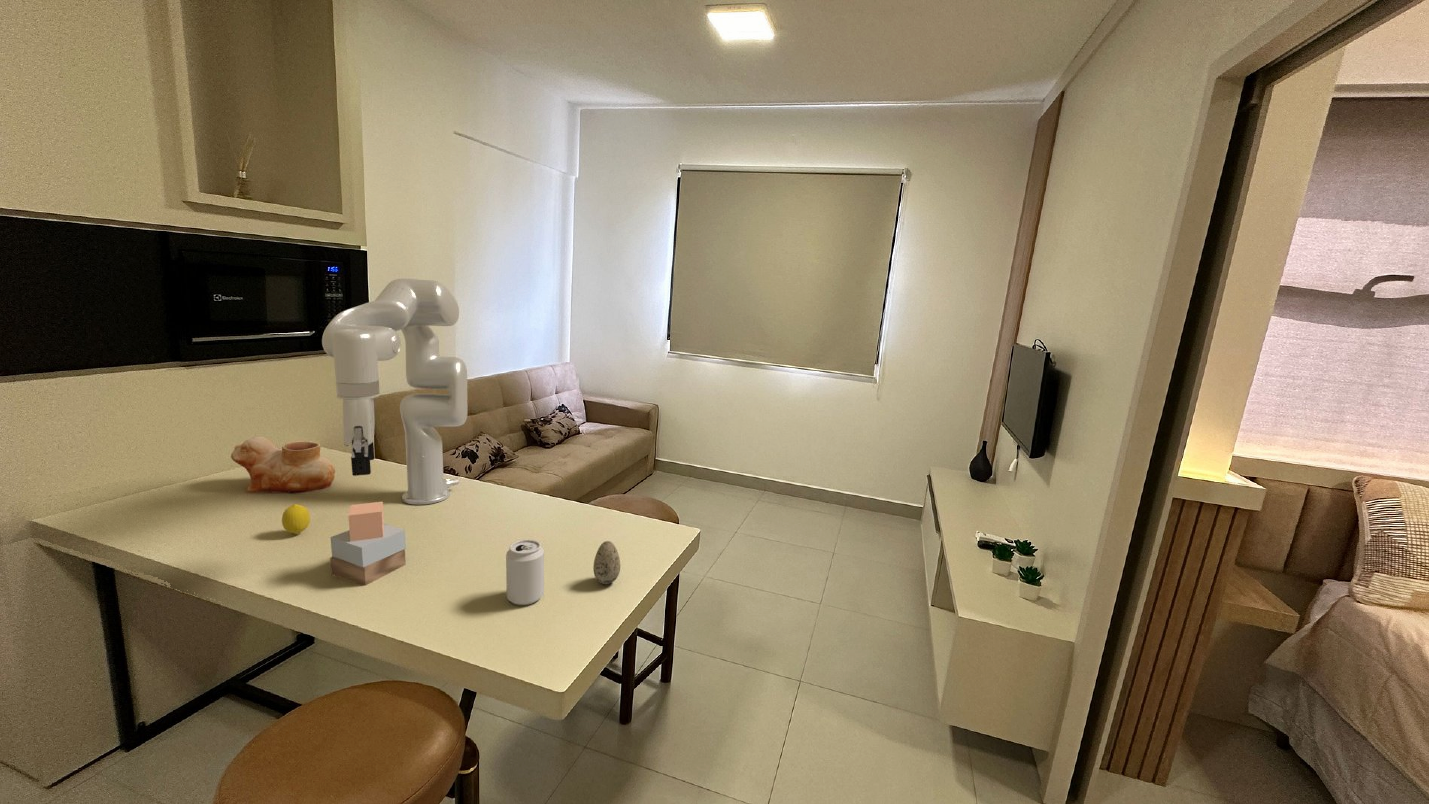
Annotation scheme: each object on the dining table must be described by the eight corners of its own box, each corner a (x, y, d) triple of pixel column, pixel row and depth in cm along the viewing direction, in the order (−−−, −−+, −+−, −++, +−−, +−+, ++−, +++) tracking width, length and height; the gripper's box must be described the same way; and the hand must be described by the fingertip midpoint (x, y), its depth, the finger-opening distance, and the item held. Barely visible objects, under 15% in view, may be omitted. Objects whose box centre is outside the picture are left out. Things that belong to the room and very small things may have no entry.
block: (352, 530, 122) (350, 505, 121) (384, 526, 125) (382, 501, 124) (350, 541, 117) (348, 515, 116) (383, 537, 120) (381, 511, 119)
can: (512, 587, 119) (511, 536, 117) (547, 588, 120) (547, 537, 117) (502, 607, 112) (501, 553, 109) (539, 607, 112) (539, 554, 110)
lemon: (296, 540, 133) (293, 509, 132) (277, 537, 134) (274, 506, 133) (316, 531, 138) (314, 501, 137) (298, 528, 139) (295, 498, 138)
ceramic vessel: (255, 477, 171) (250, 431, 168) (345, 478, 174) (342, 433, 171) (221, 493, 157) (215, 443, 154) (320, 495, 161) (316, 446, 158)
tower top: (375, 538, 128) (374, 520, 127) (405, 548, 125) (404, 530, 124) (332, 556, 119) (330, 537, 118) (363, 567, 115) (361, 547, 115)
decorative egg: (621, 588, 122) (622, 546, 120) (594, 590, 120) (595, 548, 118) (618, 574, 127) (619, 534, 125) (592, 576, 125) (593, 536, 123)
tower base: (373, 557, 129) (371, 539, 128) (405, 566, 126) (404, 547, 125) (331, 576, 119) (330, 557, 118) (365, 587, 116) (364, 567, 115)
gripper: (341, 382, 120) (347, 456, 123) (330, 399, 105) (337, 483, 108) (381, 381, 123) (386, 453, 127) (376, 397, 108) (381, 479, 112)
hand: (363, 467), depth 118 cm, fingers open, 9 cm apart
